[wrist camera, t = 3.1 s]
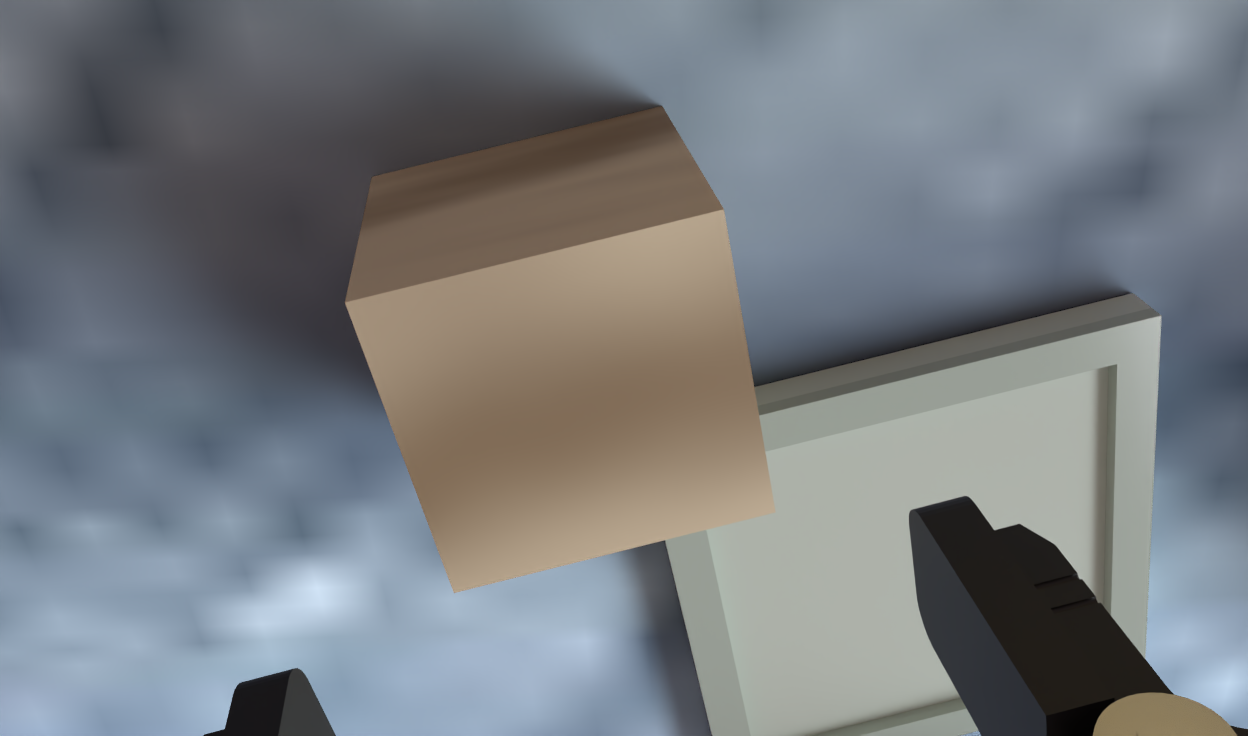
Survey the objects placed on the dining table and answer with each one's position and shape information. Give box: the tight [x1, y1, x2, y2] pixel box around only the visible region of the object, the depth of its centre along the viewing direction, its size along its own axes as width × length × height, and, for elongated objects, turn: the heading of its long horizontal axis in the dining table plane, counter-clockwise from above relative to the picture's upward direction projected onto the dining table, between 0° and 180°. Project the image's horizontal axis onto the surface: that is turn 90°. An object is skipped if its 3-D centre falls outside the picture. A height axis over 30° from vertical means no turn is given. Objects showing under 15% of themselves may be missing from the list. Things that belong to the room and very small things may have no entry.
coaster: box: [665, 293, 1161, 736], centre depth 28 cm, size 12×12×1 cm
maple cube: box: [345, 106, 776, 593], centre depth 21 cm, size 6×6×6 cm
